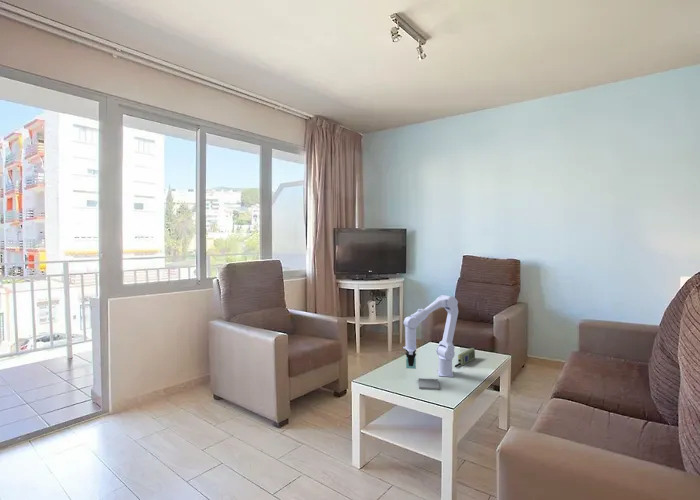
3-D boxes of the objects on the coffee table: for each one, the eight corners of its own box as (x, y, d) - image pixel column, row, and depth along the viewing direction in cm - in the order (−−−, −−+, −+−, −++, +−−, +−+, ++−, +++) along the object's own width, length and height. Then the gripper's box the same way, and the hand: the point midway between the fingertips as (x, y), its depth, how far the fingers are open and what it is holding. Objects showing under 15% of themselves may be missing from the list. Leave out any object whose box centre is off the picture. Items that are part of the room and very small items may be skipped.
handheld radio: (476, 358, 237) (458, 369, 218) (471, 358, 239) (453, 368, 220) (475, 348, 237) (458, 357, 218) (470, 347, 239) (452, 356, 220)
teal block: (406, 365, 205) (406, 356, 205) (415, 365, 204) (415, 356, 204) (406, 368, 200) (406, 359, 200) (415, 368, 199) (415, 359, 199)
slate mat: (418, 380, 201) (418, 378, 201) (437, 381, 199) (437, 379, 199) (419, 388, 189) (419, 386, 189) (439, 389, 187) (439, 387, 187)
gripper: (403, 335, 210) (403, 359, 210) (403, 342, 195) (403, 368, 196) (416, 336, 208) (416, 360, 209) (416, 342, 194) (416, 368, 194)
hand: (411, 364), depth 202 cm, fingers closed on teal block, 5 cm apart
